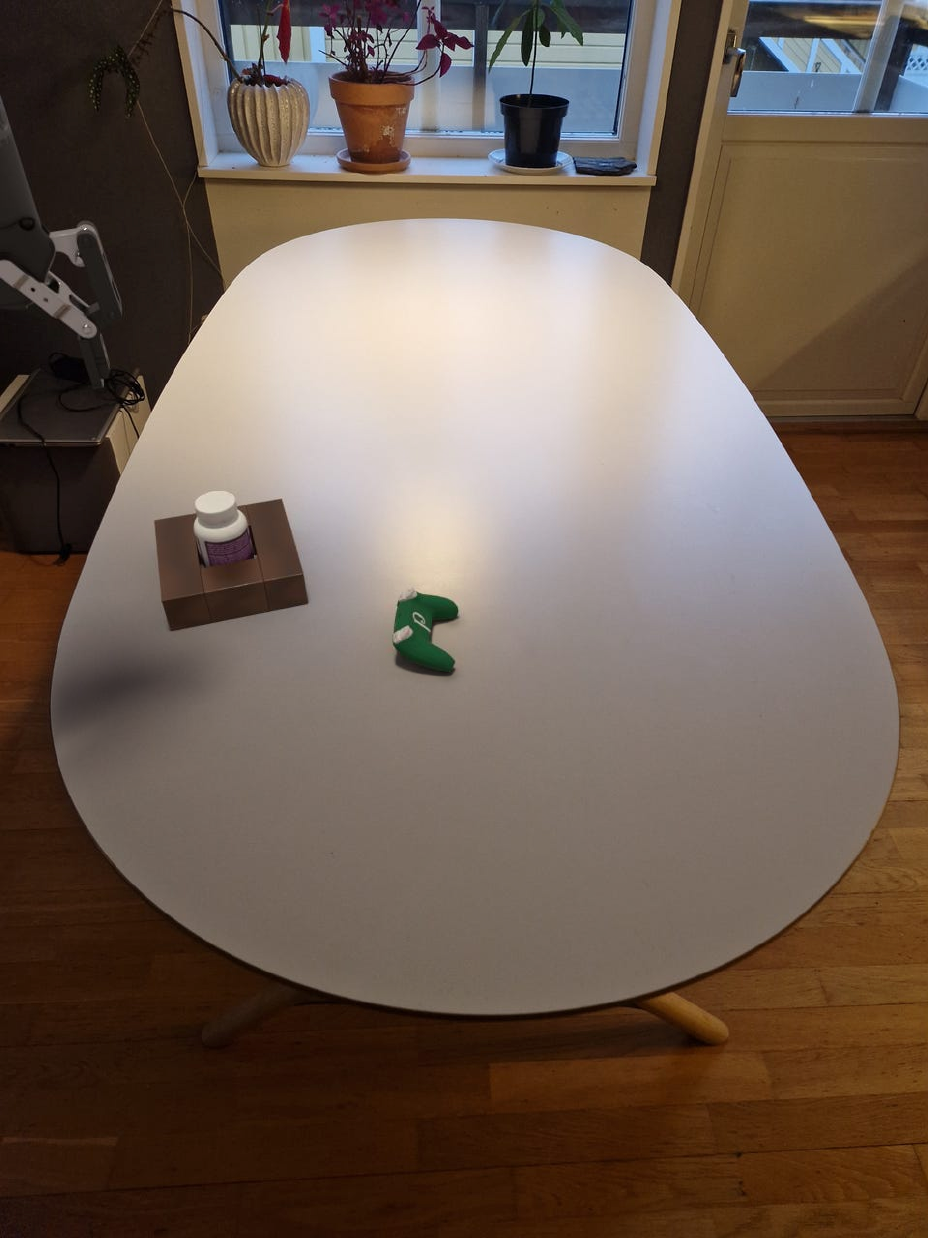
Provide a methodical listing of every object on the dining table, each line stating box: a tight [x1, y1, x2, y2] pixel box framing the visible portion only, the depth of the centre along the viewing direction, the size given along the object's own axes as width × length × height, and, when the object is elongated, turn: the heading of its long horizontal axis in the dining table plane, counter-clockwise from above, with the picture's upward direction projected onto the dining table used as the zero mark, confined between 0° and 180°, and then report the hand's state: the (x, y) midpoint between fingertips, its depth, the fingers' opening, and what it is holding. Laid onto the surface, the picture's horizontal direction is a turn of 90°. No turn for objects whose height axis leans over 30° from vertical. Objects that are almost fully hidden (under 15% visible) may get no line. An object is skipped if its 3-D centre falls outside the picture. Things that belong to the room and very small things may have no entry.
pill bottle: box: [194, 490, 255, 568], centre depth 89 cm, size 5×5×10 cm
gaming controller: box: [391, 587, 460, 673], centre depth 84 cm, size 9×4×6 cm
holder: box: [153, 498, 309, 631], centre depth 91 cm, size 14×14×4 cm
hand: (33, 392), depth 60 cm, fingers open, 8 cm apart
